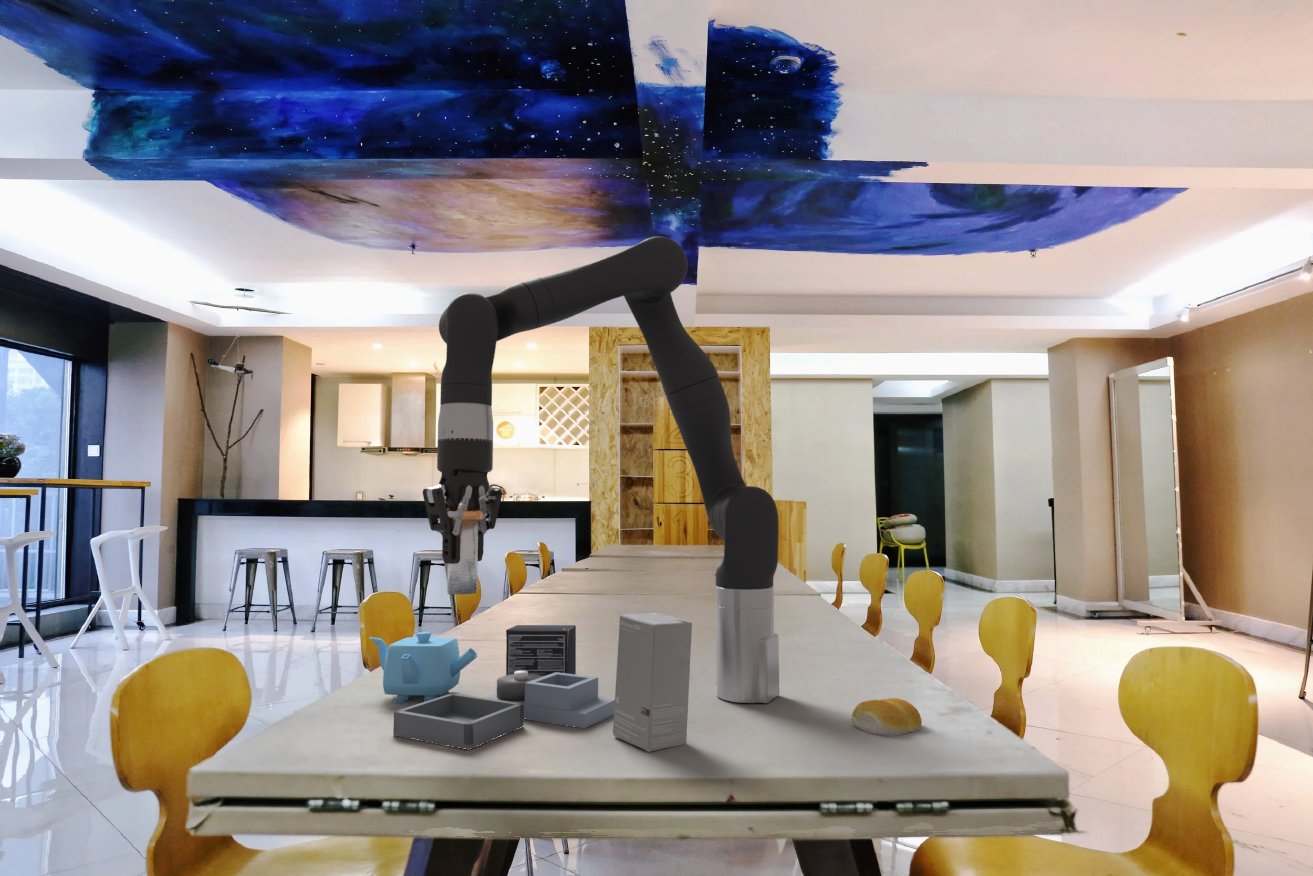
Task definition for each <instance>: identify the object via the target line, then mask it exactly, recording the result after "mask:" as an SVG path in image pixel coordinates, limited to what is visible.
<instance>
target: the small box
mask: <svg viewBox="0 0 1313 876" xmlns="http://www.w3.org/2000/svg"><path fill="white" fill-rule="evenodd" d="M576 629H577V626H576V625H575V624H569V625H568V624H562V625H560V624H554V625H553V624H516V625H514V626H512V627H510V628H508V629H506V630H505V637H506V640H505V642H506V644H505V645H506V646H505V647H506V649H505V651H506V652H505V654H506V655H505V662H506V663H505V668H506V669H505V676H506V675H512V674H514V672H515V671H528V674H538V675H541V676H546V675H549V674H552V673H555V672H559V673H567V674H575V675H577V667H576V666H577V665H576V664H577V655H576V654H577V653H576V652H577V646H576V644H577V643H576V641H577V638H576V636H577V633H576V632H577V630H576Z"/></svg>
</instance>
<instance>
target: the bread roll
mask: <svg viewBox="0 0 1313 876" xmlns="http://www.w3.org/2000/svg"><path fill="white" fill-rule="evenodd" d="M851 721H852V723H853V725H854V726H855V727H856V728H857V729H859V730H861V731H864V732H866V733H869V734H872V735H873V734H874V735H876V736H877V735H878V736H901V735H905V734H907V733H914V732H917V731H919V730H920V729H921V728H922V723H923V722H922V717H921V714H920V712H919V710H918V709H917V708H916V706H914V705H913V704H912V703H910V702H908V701H907V700H904V699H902V698H898V697H891V698H883V699H871V700H866V701H862V702H860V703H858V704H857V705H856V706H855V708H854V709H853V711H852V714H851Z"/></svg>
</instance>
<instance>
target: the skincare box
mask: <svg viewBox="0 0 1313 876" xmlns="http://www.w3.org/2000/svg"><path fill="white" fill-rule="evenodd" d="M692 629H693V623H692V622H691V621H689V620H685V619H681V618H678V617H677V616H673V615H666V614H662V613H658V612H648V613H647V612H645V613H624V614H620V615H619V627H618V643H617V656H616V657H617V658H616V659H617V660H616V672H615V673H616V676H615V688H614V689H615V692H614V700H615V706H614V715H613V723H612V724H613V726H612V734H613V737H615V738H616V739H620V740H622V741H624V742H627V743H629V744H631V745H633V746H636V747H638V748H640V749H643V750H644V751H647V752H650V753H651V752H654V751H658V750H662V749H668V748H674V747H677V746H681V745H685V744H687V741H688V740H687V736H688V732H687V731H688V719H689V718H688V714H689V693H690V691H689V690H690V673H691V672H690V669H691V652H692V649H691V647H692V635H693V634H692V633H693V631H692Z"/></svg>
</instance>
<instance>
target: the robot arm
mask: <svg viewBox="0 0 1313 876" xmlns="http://www.w3.org/2000/svg"><path fill="white" fill-rule="evenodd" d="M684 250H685V249H683V248H682V246H681V245H680V244H679V243H678V242H677V241H675V240H673V239H671V238H669V237H666V236H663V235H662V236H659V235H658V236H656V235H655V236H651V237H648V238H646V239H643V240H642V241H641V242H638V243H636V244H635V245H633V246H631V247H629V248H626V249H624V250H622V251H620V252H617V253H615V254H612V255H610V256H607V257H605V258H601V259H600V260H597V261H596V260H595V261H594V262H590V263H587V264H583V265H581V266H577V267H573V268H571V269H567V270H562V271H560V272H555V273H551V274H548V275H544V276H543V275H542V276H539V277H537V278H532V279H528V280H524V281H522V282H518V283H515V284H511V285H509V286H507V287H506V288H503V290H501V291H499V292H498V293H495V294H492V295H488V296H483V295H482V294H479V293H476V292H465V293H463V294H460V295H457V296H456V297H455V298H454V299H452V300H451V302H450V303H449V304H448V305H447V307H446V308H445V310H444V311H443V312H442V313H441V315H440V318H439V320H438V321H439V322H438V331H439V335H440V337H441V339H442V341H443V342H444V343H445V344H446V357H445V363H444V366H443V369H442V373H441V378H440V403H439V404H440V406H439V413H438V420H437V446H436V447H437V450H436V452H437V455H436V458H437V459H436V468H437V471H438V472H440V473H441V477H440V479H439V482H438V484H437V485H436V486H433V487H424V488H423V490H422V497H423V501H424V505H425V509H426V514H427V518H428V523H429V528H430V530H431V531H433V532H436V533H437V532H438V533H439V534H440V535H441V536H442V542H441V544H442V545H441V546H442V547H441V548H442V549H441V551H442V552H441V556H442V559H443V562H444V564H447V565H448V564H456V563H459V558H460V536H457V535H458V534H459V532H460V527H461V522H462V520H459V519H460V518H462V517H463V516H464V511H483V519H482V520H478V562H481V561H482V560H483V557H484V556H483V555H484V545H485V543H484V542H485V541H484V538H485V537H484V535H485V534H486V533H487V532H488V531H489V530H493V529H495V527H496V523H497V518H498V514H499V509H500V506H501V502H502V497H503V490H502V489H498V488H493V487H491V486H490V482H489V480H488V479H489V478H488V473H490V472H492V470H493V466H494V465H493V463H494V455H493V454H494V418H493V407H492V406H493V405H492V404H493V380H492V376H493V375H492V374H493V366H494V361H495V355H496V349H497V348H496V347H497V343H498V342H499V341H502V340H503V339H507V338H508V337H510V336H513V335H516V334H519V333H523V332H528V331H533V330H535V329H539V328H543V327H545V326H549V325H551V324H555V323H558V322H561V321H562V322H563V321H564V320H566V319H569V318H572V317H574V316H576V315H579V314H582V313H583V312H585V311H587V310H589V309H592V308H595V307H597V306H599V305H601V304H604V303H606V302H609V301H612V300H614V299H619V298H620V297H623V298H624V299H625V301H626V304H627V306H628V307H629V309H630V312H631V313H632V316H633V318H634V320H635V321H636V323H637V325H638V327H639V330H640V332H641V333H642V336H643V338H644V341H645V343H646V345H647V348H648V351H649V354H650V357H651V359H652V362H653V365H654V367H655V370H656V373H657V376H658V377H659V380H660V382H661V386H662V388H663V392H664V395H665V398H666V401H667V404H668V406H669V408H670V411H671V414H672V416H673V419H674V420H675V423H676V426H677V428H678V430H679V433H680V436H681V438H682V441H683V444H684V447H685V450H686V452H687V454H688V457H689V458H690V460H691V461H690V462H691V464H692V466H693V469H694V471H695V474H696V475H695V476H696V477H697V480H698V484H699V488H700V493H701V496H702V500H703V504H704V507H705V511H706V515H707V518H708V521H709V524H710V526H711V528H712V530H713V532H714V533H715V534H716V535H717V536H718V537H719V538H721V539H722V540H724V544H723V545H724V546H723V547H724V548H723V559H722V562H721V564H720V566H718V568H717V569H716V571H715V633H716V634H715V635H716V636H715V637H716V641H715V642H716V655H715V656H716V697H718V698H719V699H721V700H724V701H728V702H732V703H744V704H755V703H756V704H757V703H758V704H759V703H761V704H768V703H770V702H771V701H772V700H774V699H775V698H777V697H778V696H780V658H779V657H780V653H779V651H780V650H779V649H780V648H779V647H780V645H779V644H780V643H779V640H780V639H779V634H778V633H775V615H774V614H775V612H774V611H775V609H774V608H775V606H774V604H775V603H774V602H775V601H774V598H775V597H774V577H775V573H776V571H777V568H778V562H779V529H780V528H779V527H780V526H779V525H780V524H779V514H778V513H779V512H778V507H777V505H776V502H775V500H774V498H773V497H772V495H771V494H770V493H769V492H767V491H766V490H765V489H763V488H761V487H759V486H755V485H753V486H751V485H749V486H748V485H746V483H745V480H744V478H743V476H742V474H741V471H740V468H739V467H738V463H737V461H736V458H735V455H734V451H733V445H732V424H731V423H732V421H731V410H730V405H729V401H728V397H727V394H726V393H725V390H724V386H723V383H722V381H721V379H720V376H719V372H718V371H717V368H716V367H715V364H714V363H713V362H712V360H711V358H710V357H709V356H708V355H707V353H706V352H704V350H703V349H702V348H701V347H700V346H699V345H698V343H697V342H696V341H695V339H693V338H692V337H691V336H690V334H689V333H688V331H687V330H686V329H685V327H684V326H683V324H682V321H681V320H680V317H679V315H678V311H677V309H676V307H675V303H674V300H673V297H672V293H673V292H675V290H677V288H679V287H680V286H681V284H682V283H684V282H683V281H684V280H685V279H686V277H687V273H688V267H689V265H688V264H689V263H688V257H687V255H686V253H685V251H684ZM447 511H455V512H447ZM488 514H489V515H488ZM487 516H488V518H487ZM449 517H453V523H452V525H451V524H450V520H449Z"/></svg>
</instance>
